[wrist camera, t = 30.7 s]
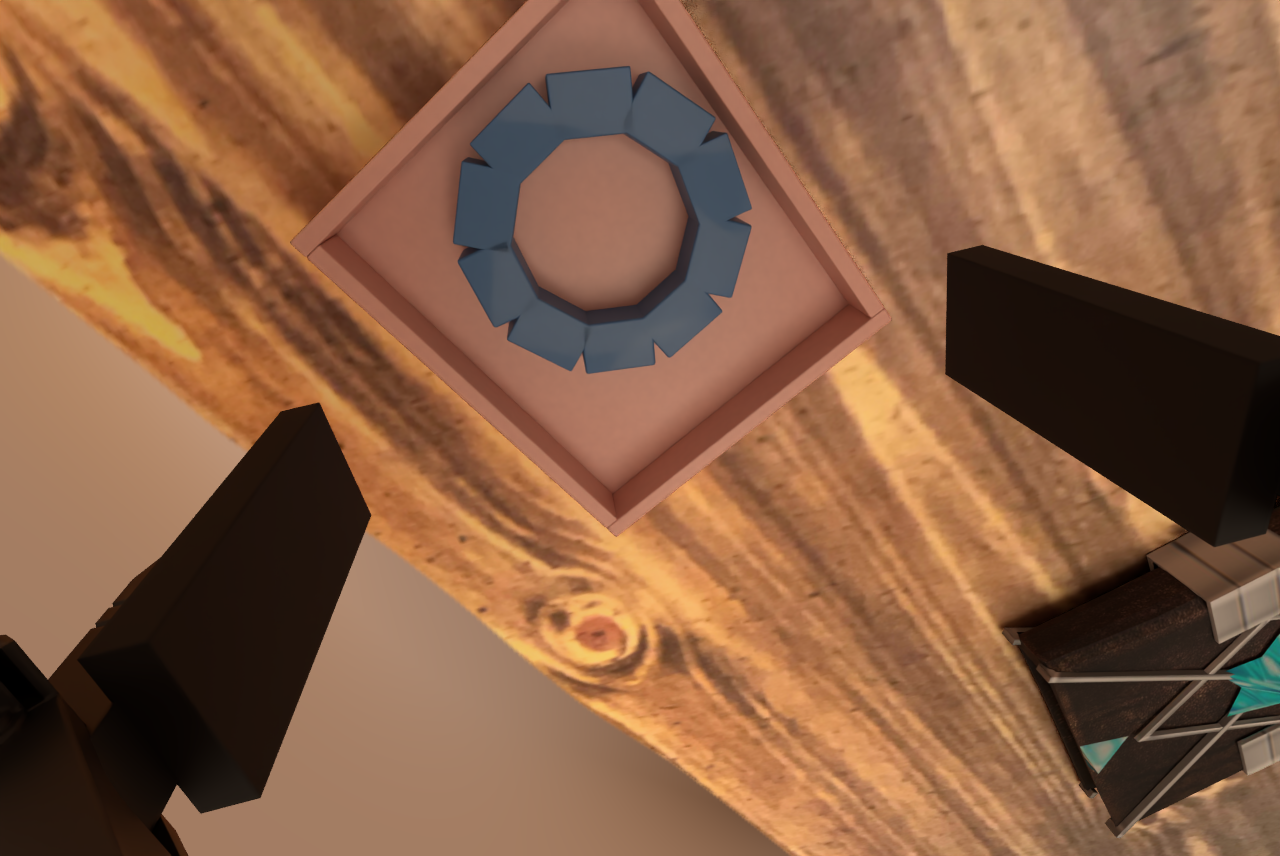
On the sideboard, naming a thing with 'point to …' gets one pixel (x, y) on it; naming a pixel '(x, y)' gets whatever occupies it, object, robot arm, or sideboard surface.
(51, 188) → the sideboard surface
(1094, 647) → the book
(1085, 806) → the sideboard surface
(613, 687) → the sideboard surface
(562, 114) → the ring
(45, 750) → the robot arm
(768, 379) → the tray
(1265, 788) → the sideboard surface
